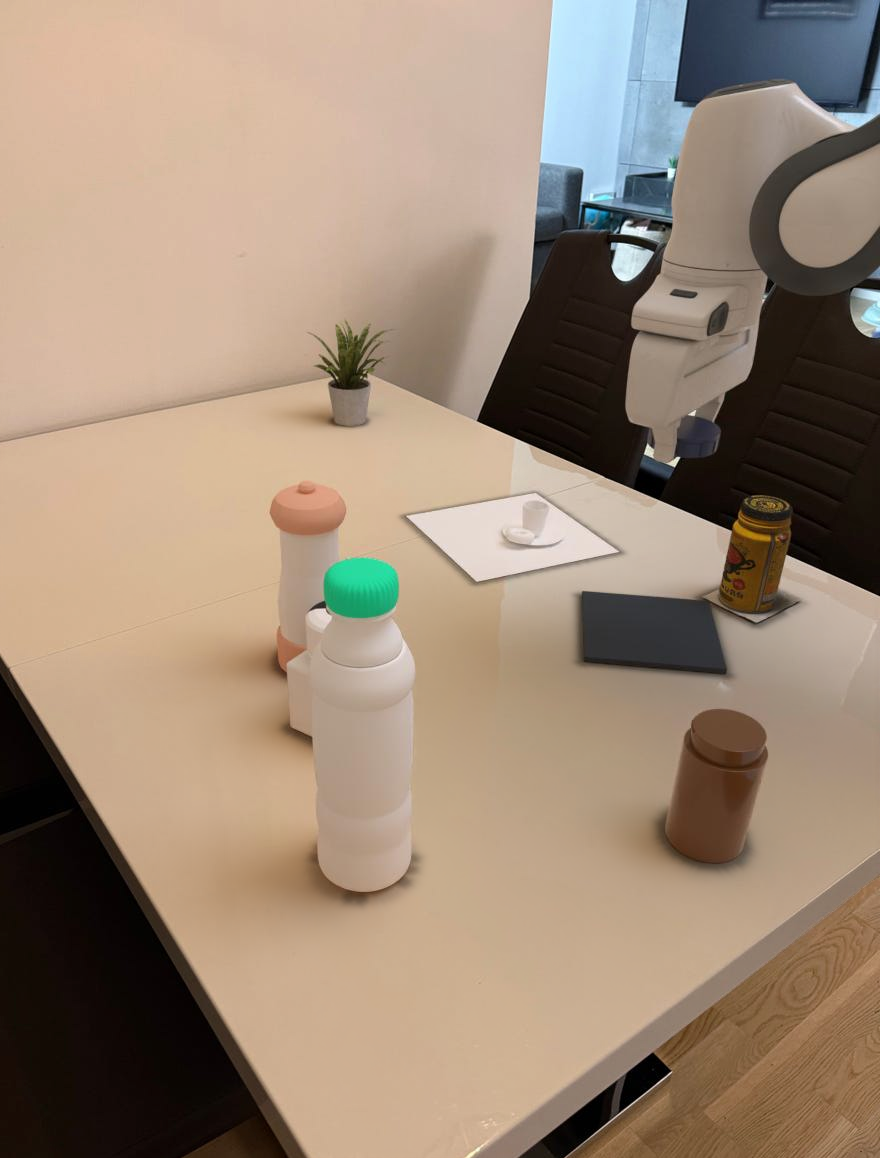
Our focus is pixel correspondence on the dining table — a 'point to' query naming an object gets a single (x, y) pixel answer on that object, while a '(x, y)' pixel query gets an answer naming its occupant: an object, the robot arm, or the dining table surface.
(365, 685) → the water bottle
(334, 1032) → the dining table surface
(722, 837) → the jar
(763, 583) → the condiment
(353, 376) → the house plant
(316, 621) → the medicine bottle
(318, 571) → the pepper shaker
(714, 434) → the lid
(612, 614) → the mat
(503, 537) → the teacup and saucer
